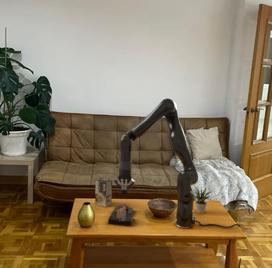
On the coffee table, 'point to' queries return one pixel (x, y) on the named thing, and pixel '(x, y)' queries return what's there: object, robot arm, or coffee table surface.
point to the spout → (121, 212)
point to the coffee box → (103, 192)
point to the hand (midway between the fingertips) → (124, 195)
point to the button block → (128, 209)
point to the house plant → (201, 201)
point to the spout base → (121, 220)
